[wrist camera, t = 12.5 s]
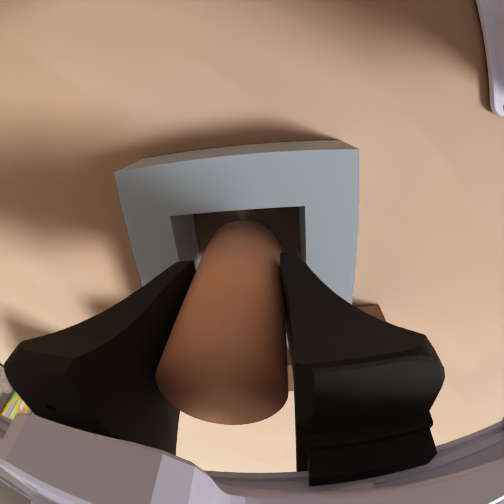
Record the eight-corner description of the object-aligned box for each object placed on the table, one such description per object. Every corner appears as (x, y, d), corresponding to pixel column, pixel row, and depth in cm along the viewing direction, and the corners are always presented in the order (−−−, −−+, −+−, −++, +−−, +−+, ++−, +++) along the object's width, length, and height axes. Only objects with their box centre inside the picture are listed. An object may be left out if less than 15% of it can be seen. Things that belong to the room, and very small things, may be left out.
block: (340, 140, 12) (359, 149, 10) (336, 308, 16) (346, 345, 14) (143, 158, 13) (113, 172, 10) (178, 314, 17) (164, 350, 14)
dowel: (277, 215, 12) (282, 340, 6) (285, 283, 13) (292, 422, 7) (199, 225, 12) (135, 346, 6) (215, 290, 14) (179, 423, 8)
